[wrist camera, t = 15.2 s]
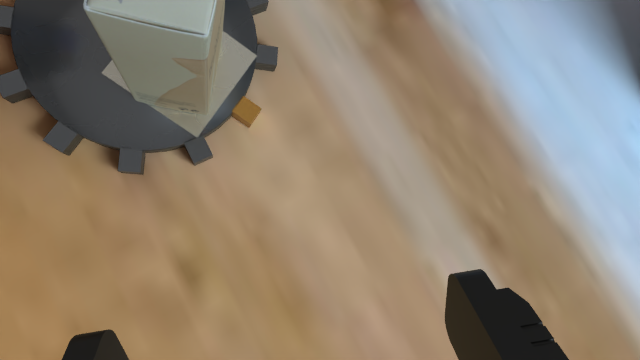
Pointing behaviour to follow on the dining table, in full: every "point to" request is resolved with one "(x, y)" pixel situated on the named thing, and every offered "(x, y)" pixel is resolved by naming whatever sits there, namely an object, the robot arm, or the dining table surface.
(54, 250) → the dining table surface
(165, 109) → the sprocket
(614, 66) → the dining table surface
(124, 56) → the box
